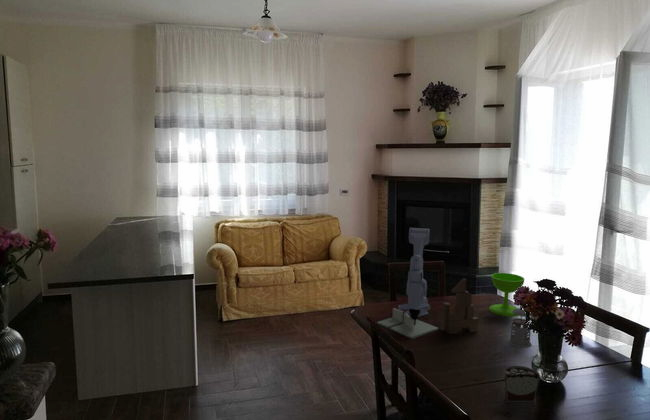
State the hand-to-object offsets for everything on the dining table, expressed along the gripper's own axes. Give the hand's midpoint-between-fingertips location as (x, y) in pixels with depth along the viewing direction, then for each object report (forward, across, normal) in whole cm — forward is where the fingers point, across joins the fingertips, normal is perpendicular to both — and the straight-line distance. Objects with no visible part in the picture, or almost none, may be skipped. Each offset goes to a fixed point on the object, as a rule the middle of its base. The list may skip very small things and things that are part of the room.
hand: (413, 324), depth 220 cm
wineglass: (+3, +56, +20) cm, 60 cm away
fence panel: (+1, -2, +1) cm, 3 cm away
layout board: (+2, -2, +4) cm, 5 cm away
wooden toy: (+3, +21, -3) cm, 21 cm away
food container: (+3, +16, -61) cm, 63 cm away
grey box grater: (+3, +42, -18) cm, 46 cm away
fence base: (+2, -4, +10) cm, 11 cm away
